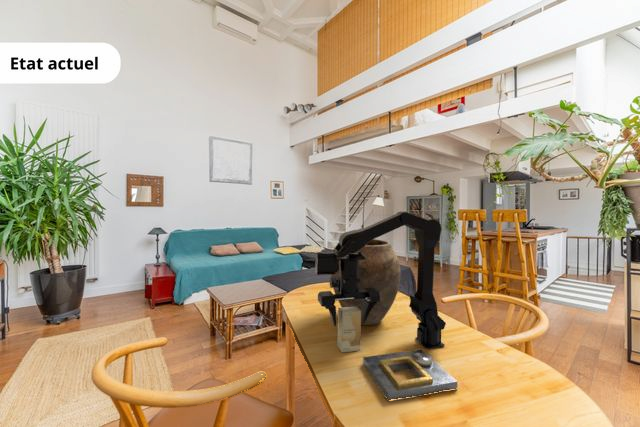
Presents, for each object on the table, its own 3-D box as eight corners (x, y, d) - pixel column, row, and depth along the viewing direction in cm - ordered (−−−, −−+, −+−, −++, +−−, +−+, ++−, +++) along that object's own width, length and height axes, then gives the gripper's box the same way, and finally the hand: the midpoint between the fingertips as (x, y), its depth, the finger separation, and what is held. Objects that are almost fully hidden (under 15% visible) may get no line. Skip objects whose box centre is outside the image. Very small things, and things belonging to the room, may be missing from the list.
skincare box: (341, 353, 83) (341, 312, 82) (336, 346, 87) (336, 307, 86) (361, 350, 84) (361, 310, 84) (356, 343, 88) (356, 305, 88)
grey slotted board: (420, 356, 81) (421, 345, 81) (457, 389, 66) (457, 377, 66) (363, 364, 77) (363, 353, 77) (388, 402, 62) (388, 389, 62)
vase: (322, 328, 99) (322, 244, 98) (340, 303, 124) (340, 236, 122) (398, 340, 90) (398, 248, 89) (401, 310, 115) (402, 238, 114)
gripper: (367, 266, 95) (367, 311, 95) (313, 269, 90) (314, 316, 91) (382, 274, 84) (381, 325, 84) (322, 278, 79) (322, 331, 80)
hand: (349, 324), depth 85 cm, fingers open, 9 cm apart
